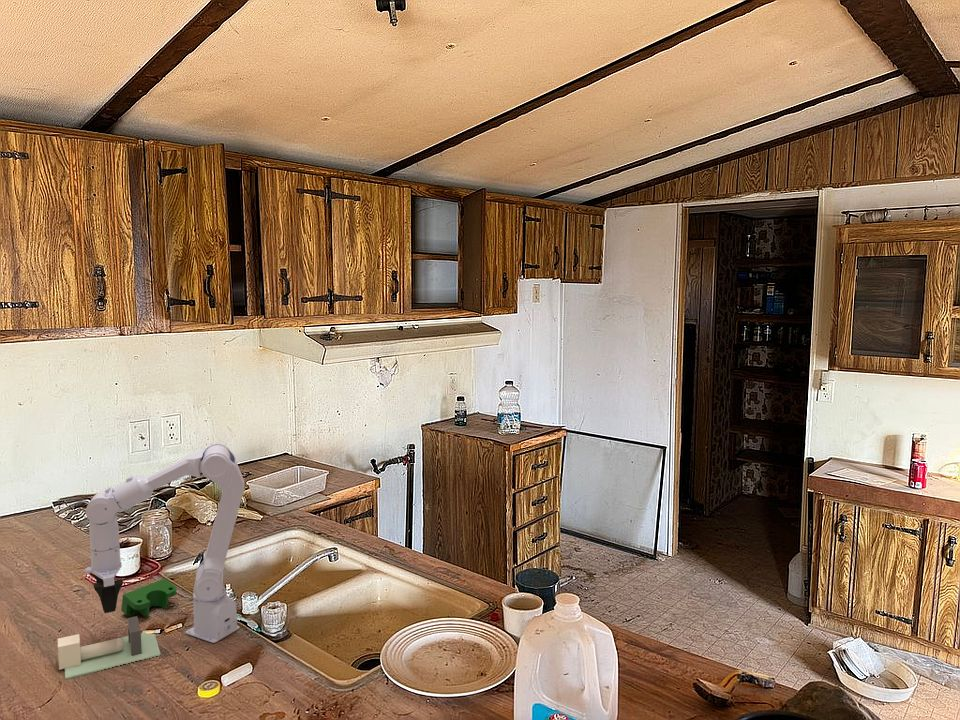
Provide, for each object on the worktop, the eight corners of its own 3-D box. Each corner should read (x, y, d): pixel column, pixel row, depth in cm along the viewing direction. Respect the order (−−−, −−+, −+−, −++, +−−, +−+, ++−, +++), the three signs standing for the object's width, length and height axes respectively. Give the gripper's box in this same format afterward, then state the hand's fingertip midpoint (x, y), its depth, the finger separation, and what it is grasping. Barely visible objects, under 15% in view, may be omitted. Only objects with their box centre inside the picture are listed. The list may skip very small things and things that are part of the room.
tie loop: (138, 638, 157) (137, 616, 156) (141, 653, 151) (140, 630, 150) (128, 640, 156) (127, 618, 155) (131, 656, 150) (130, 632, 149)
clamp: (140, 634, 168) (130, 611, 163) (126, 622, 170) (116, 599, 165) (183, 601, 176) (174, 577, 171) (169, 589, 179) (160, 566, 174)
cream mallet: (123, 645, 154) (122, 624, 153) (125, 653, 150) (124, 632, 150) (58, 660, 147) (57, 638, 147) (59, 669, 144) (57, 647, 143)
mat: (153, 631, 161) (153, 630, 161) (160, 655, 151) (160, 654, 151) (64, 652, 151) (64, 650, 151) (65, 679, 141) (65, 677, 141)
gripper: (82, 539, 156) (86, 595, 158) (86, 561, 144) (89, 623, 145) (117, 533, 160) (120, 588, 161) (123, 555, 148) (126, 614, 149)
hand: (108, 604), depth 154 cm, fingers open, 7 cm apart
